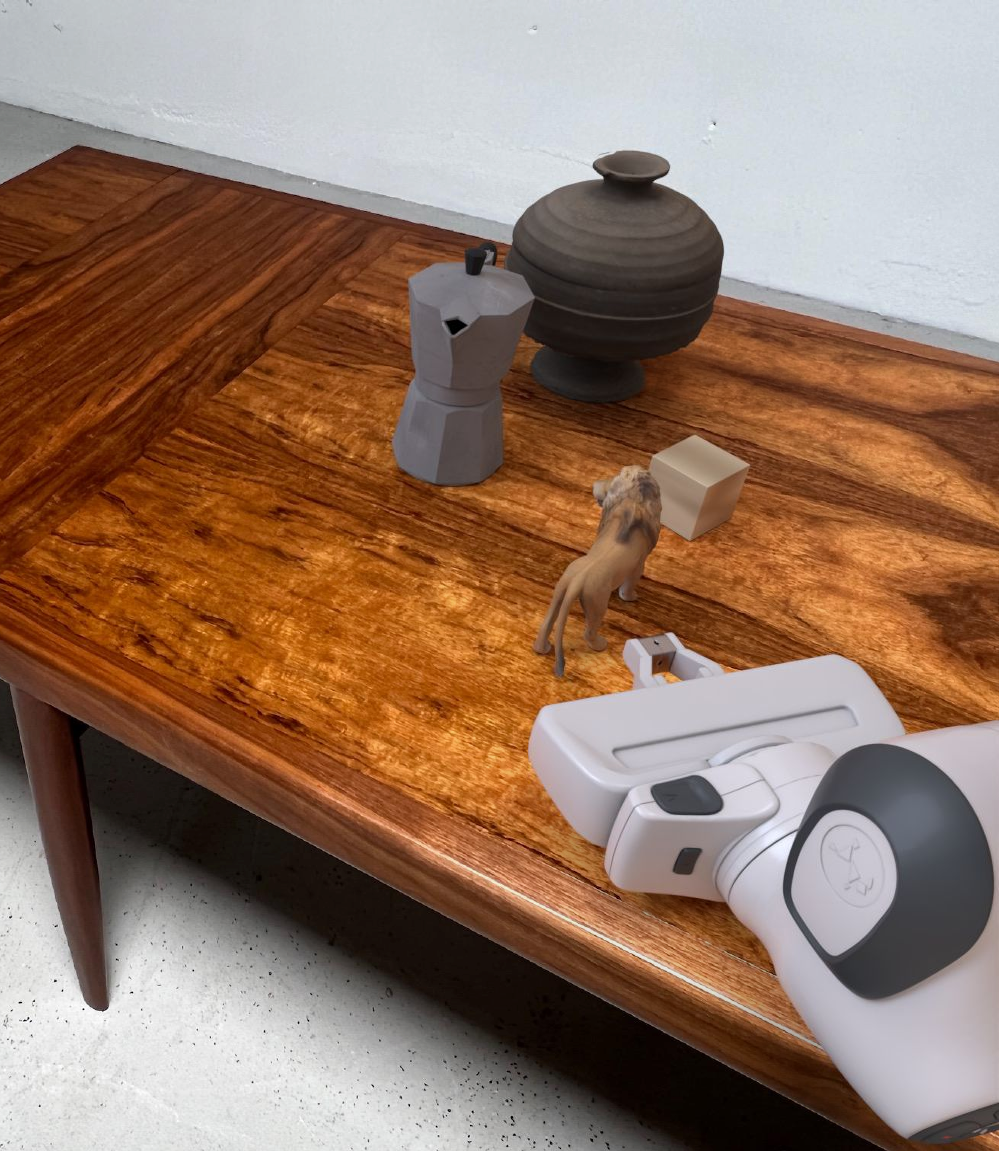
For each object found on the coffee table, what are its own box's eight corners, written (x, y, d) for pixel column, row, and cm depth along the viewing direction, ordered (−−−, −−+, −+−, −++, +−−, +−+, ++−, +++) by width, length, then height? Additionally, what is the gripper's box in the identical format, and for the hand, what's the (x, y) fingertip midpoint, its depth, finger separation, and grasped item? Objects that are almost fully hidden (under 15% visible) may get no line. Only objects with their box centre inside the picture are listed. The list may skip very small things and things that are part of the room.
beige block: (678, 487, 90) (694, 434, 87) (731, 518, 87) (750, 464, 83) (636, 508, 88) (652, 455, 84) (689, 541, 85) (708, 487, 81)
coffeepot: (489, 512, 87) (528, 298, 76) (371, 488, 90) (391, 277, 78) (520, 412, 98) (558, 212, 87) (413, 393, 101) (437, 196, 89)
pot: (453, 390, 100) (500, 160, 88) (516, 323, 113) (564, 114, 101) (656, 451, 93) (736, 211, 81) (698, 372, 106) (773, 155, 94)
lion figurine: (579, 546, 84) (605, 445, 78) (651, 568, 82) (683, 466, 76) (520, 669, 74) (544, 564, 68) (600, 697, 72) (632, 592, 66)
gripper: (975, 747, 58) (813, 579, 69) (612, 820, 55) (499, 631, 65) (927, 823, 62) (781, 653, 73) (587, 894, 59) (484, 705, 69)
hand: (645, 643), depth 69 cm, fingers closed
